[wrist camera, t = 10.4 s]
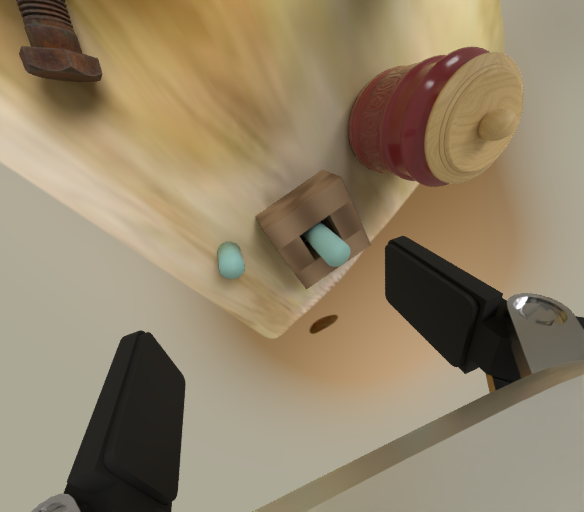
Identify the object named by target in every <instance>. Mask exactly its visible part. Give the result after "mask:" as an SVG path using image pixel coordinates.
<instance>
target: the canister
mask: <svg viewBox="0 0 584 512" xmlns="http://www.w3.org/2000/svg"><path fill="white" fill-rule="evenodd" d="M522 108H523V82H522V77H521V73H520V70H519V68H518V66H517V64H516V63H515V62H514V61H513V60H512V59H511V58H510V57H509V56H507V55H505V54H503V53H498V52H489V51H487V50H485V49H483V48H479V47H465V48H461V49H458V50H456V51H453V52H451V53H449V54H448V55H439V56H434V57H431V58H428V59H426V60H424V61H422V62H419V63H415V64H412V65H408V66H398V67H394V68H391V69H388V70H386V71H384V72H382V73H381V74H379V75H378V76H376V77H375V78H374V79H372V80H371V81H370V82H369V83H368V84H367V85H366V86H365V87H364V88H363V89H362V91H361V92H360V94H359V95H358V97H357V99H356V101H355V103H354V105H353V108H352V111H351V114H350V119H349V141H350V145H351V148H352V151H353V153H354V155H355V156H356V158H357V159H358V160H359V161H360V162H361V163H362V164H364V165H365V166H366V167H367V168H369V169H371V170H373V171H377V172H380V173H389V174H392V175H396V176H399V177H400V178H403V179H405V180H409V181H417V182H418V183H420V184H422V185H425V186H430V187H438V186H444V185H447V184H450V183H451V184H456V183H463V182H466V181H468V180H471V179H473V178H474V177H476V176H478V175H479V174H481V173H482V172H483V171H485V170H486V169H487V168H488V167H489V166H490V165H491V164H492V163H493V162H494V161H495V160H496V159H497V157H498V156H499V155H500V154H501V153H502V152H503V150H504V149H505V148H506V146H507V145H508V143H509V142H510V140H511V138H512V137H513V135H514V133H515V131H516V128H517V126H518V123H519V120H520V117H521V113H522Z"/></svg>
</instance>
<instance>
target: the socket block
mask: <svg viewBox="0 0 584 512" xmlns="http://www.w3.org/2000/svg"><path fill="white" fill-rule="evenodd" d="M256 218H257V220H258V222H259V224H260V226H261V227H262V229H263V231H264V233H265V234H266V235H267V237H268V238H269V239H270V241H271V242H272V243H273V245H274V246H275V247H276V249H277V250H278V251H279V253H280V254H281V256H282V257H283V258H284V260H285V261H286V262H287V264H288V265H289V266H290V268H291V269H292V270H293V272H294V273H295V275H296V276H297V277H298V279H299V280H300V281H301V283H302V284H303V285H304V287H305V288H306V289H307V288H309V287H310V286H312V285H313V284H315V283H316V282H318V281H319V280H321V279H322V278H323V277H325V276H326V275H328V274H329V273H331V272H332V271H334V270H335V269H336V268H338V267H339V266H338V267H332V266H330V265H328V264H327V263H326V261H325V260H324V259H323V258H322V257H321V256H320V255H319V254H318V252H317V251H316V250H315V249H314V248H313V247H312V246H311V245H310V243H309V242H308V241H305V242H304V243H303V241H302V239H301V238H300V235H301V234H303V233H304V232H306V231H307V230H309V229H310V228H312V227H313V226H314V225H316V224H317V223H319V222H320V221H322V220H323V222H324V223H325V225H326V227H327V228H328V229H330V230H331V231H332V232H333V233H334V234H336V235H337V236H338V237H339V238H340V239H342V240H343V241H344V242H345V243H346V244H348V246H349V247H350V256H349V258H348V260H350V259H351V258H352V257H354V256H355V255H357V254H358V253H360V252H361V251H363V250H364V249H366V248H367V247H368V246H370V245H371V244H370V242H369V239H368V237H367V235H366V233H365V230H364V228H363V226H362V223H361V221H360V219H359V217H358V214H357V212H356V210H355V207H354V205H353V203H352V200H351V198H350V196H349V194H348V191H347V189H346V187H345V184H344V182H343V180H342V178H341V177H339V176H336V175H334V174H331V173H329V172H326V171H324V170H322V171H320V172H319V173H317V174H316V175H314V176H313V177H312V178H310V179H309V180H307V181H306V182H304V183H303V184H301V185H300V186H299V187H297V188H296V189H294V190H293V191H291V192H290V193H289V194H287V195H286V196H284V197H283V198H281V199H280V200H279V201H277V202H276V203H274V204H273V205H271V206H270V207H268V208H267V209H266V210H264V211H263V212H261V213H260V214H258V215H257V216H256ZM348 260H347V261H348ZM347 261H346V262H347Z"/></svg>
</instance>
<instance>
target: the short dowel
mask: <svg viewBox="0 0 584 512" xmlns="http://www.w3.org/2000/svg"><path fill="white" fill-rule="evenodd" d="M218 262H219V271H220V273H221V275H222V276H223V277H225V278H228V279H235V278H238V277H239V276H241V275H242V274H243V272H244V270H245V265H244V261H243V258H242V254H241V251H240V248H239V246H238V245H237V244H235V243H233V242H226V243H223V244H222V245H220V247H219V248H218Z"/></svg>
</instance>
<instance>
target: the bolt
mask: <svg viewBox="0 0 584 512" xmlns="http://www.w3.org/2000/svg"><path fill="white" fill-rule="evenodd" d="M17 4H18V6H19V10H20V11H21V15H22V17H23V21H24V24H25V30H26V33H27V36H28V38H29V41H30V44H31V47H27V46H22V47H21V49H20V52H19V55H20V57H21V60H22V62H23V65H24V67H25V70H26V71H27V72H28V73H30V74H32V75H35V76H38V77H42V78H47V79H55V80H64V81H78V82H92V81H100V80H101V77H102V71H101V67H100V64H99V60H98V58H94V57H91V56H87V55H84V54H82V51H81V48H80V45H79V42H78V38H77V36H76V34H75V33H74V30H73V29H72V28H73V26H72V25H71V20H70V19H69V18H70V16H69V15H68V14H67V13H68V10H67V9H66V7H67V6H66V4H65V0H17Z"/></svg>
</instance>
